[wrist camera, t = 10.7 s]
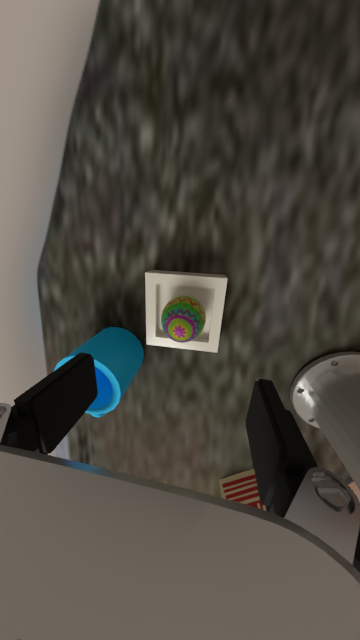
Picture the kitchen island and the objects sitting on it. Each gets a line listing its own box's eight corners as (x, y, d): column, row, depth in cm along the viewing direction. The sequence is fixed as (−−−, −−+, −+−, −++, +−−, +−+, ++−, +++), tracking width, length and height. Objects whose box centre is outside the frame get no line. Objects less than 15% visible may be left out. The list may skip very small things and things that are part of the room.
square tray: (225, 274, 22) (227, 278, 20) (216, 341, 26) (217, 352, 23) (153, 269, 24) (145, 272, 21) (153, 334, 27) (146, 344, 24)
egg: (213, 305, 22) (216, 324, 16) (192, 337, 24) (188, 363, 18) (178, 284, 22) (168, 295, 16) (159, 317, 23) (144, 338, 18)
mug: (93, 322, 27) (49, 348, 20) (146, 332, 27) (121, 363, 19) (94, 386, 32) (59, 427, 24) (140, 396, 31) (118, 442, 24)
